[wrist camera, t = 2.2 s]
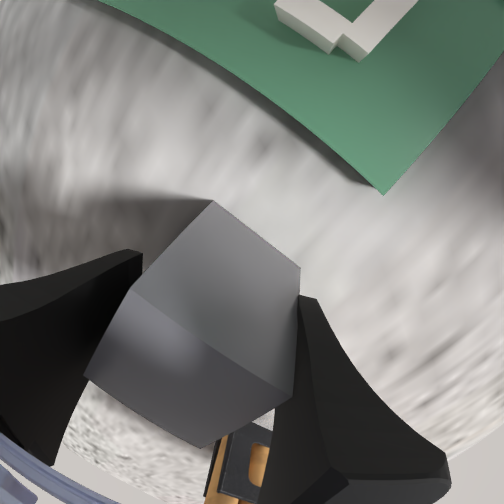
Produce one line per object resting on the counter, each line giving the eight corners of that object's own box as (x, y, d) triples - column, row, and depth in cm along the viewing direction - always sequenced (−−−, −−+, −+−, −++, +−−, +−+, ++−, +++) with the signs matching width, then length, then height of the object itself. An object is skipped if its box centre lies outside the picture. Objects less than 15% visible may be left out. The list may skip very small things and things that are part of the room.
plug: (300, 268, 12) (292, 396, 6) (225, 341, 14) (185, 455, 8) (213, 200, 11) (129, 288, 6) (151, 289, 13) (76, 387, 8)
